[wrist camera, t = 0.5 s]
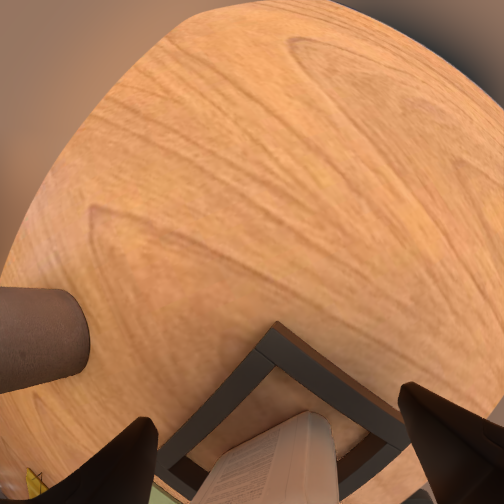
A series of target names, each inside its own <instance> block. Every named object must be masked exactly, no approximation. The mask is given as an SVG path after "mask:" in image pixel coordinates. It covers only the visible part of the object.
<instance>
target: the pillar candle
mask: <svg viewBox="0 0 504 504" xmlns="http://www.w3.org/2000/svg"><path fill="white" fill-rule="evenodd" d="M89 346H90V344H89V333H88V328H87V324H86V320H85V318H84V315H83V313H82V310H81V308H80V307H79V305H78V303H77V302H76V300H75V299H74V298H73V297H72V296H71V295H70V294H69V293H68V292H66V291H63V290H59V289H37V288H17V287H0V394H2V393H6V392H11V391H15V390H19V389H24V388H28V387H31V386H34V385H39V384H42V383H47V382H50V381H54V380H58V379H61V378H66V377H68V376H73V375H75V374H77V373H80V372H81V371H82V370H83V368H84V367H85V365H86V363H87V359H88V355H89Z"/></svg>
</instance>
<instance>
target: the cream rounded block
mask: <svg viewBox="0 0 504 504" xmlns="http://www.w3.org/2000/svg"><path fill="white" fill-rule="evenodd" d="M190 504H339V491H338V476H337V464H336V453H335V444H334V439H333V437H332V433H331V427H330V424H329V422H328V421H327V420H326V419H325V418H324V417H323V416H321V415H319V414H317V413H310V411H305V412H303V413H300V414H298V415H296V416H294V417H292V418H290V419H288V420H286V421H284V422H282V423H281V424H279V425H277V426H275V427H273V428H271V429H269V430H268V431H266V432H264V433H262V434H260V435H258V436H256V437H254V438H252V439H250V440H248V441H246V442H244V443H242V444H240V445H238V446H237V447H235V448H233V449H231V450H229V451H227V452H226V453H225V454H223V455H222V456H221V457H220V458H219V459H218V460H217V462H216V463H215V465H214V467H213V468H212V470H211V472H210V473H209V475H208V476H207V478H206V480H205V481H204V483H203V484H202V486H201V487H200V489H199V490H198V492H197V493H196V495H195V496H194V498H193V499H192V501H191V502H190Z"/></svg>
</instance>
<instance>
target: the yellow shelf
mask: <svg viewBox="0 0 504 504" xmlns="http://www.w3.org/2000/svg"><path fill="white" fill-rule="evenodd" d="M40 474H41V480H40V479H39V478H38V476H39V475H40ZM40 474H39V475H38V476H36V475H35V474H34V473H33V472H32V470H31V469H29V468H27V476H26V482H27V487H28V492H29V497H30V499H31V498H34V497H36V496H38V495H40V494H41V493H43V492H45V491H46V490H48V487H47V486H46V485H45V484H44V483H43V482H42V472H41V473H40Z"/></svg>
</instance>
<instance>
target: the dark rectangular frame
mask: <svg viewBox="0 0 504 504" xmlns="http://www.w3.org/2000/svg"><path fill="white" fill-rule="evenodd" d="M275 365H277V366H278V367H279V368H281V369H282V370H283V371H285V372H286V373H287V374H288V375H290V376H291V377H292V378H294V379H295V380H296V381H298V382H299V383H300V384H302V385H303V386H304V387H306V388H307V389H309V390H310V391H311V392H313V393H314V394H315V395H317V396H318V397H320V398H321V399H322V400H324V401H325V402H327V403H328V404H330V405H331V406H332V407H334V408H335V409H337V410H338V411H340V412H341V413H343V414H344V415H345V416H347V417H348V418H350V419H351V420H353V421H354V422H356V423H357V424H359V425H361V426H362V427H364V428H365V429H367V430H368V431H370V432H371V433H370V434H369V435H368V436H367V437H366V438H365V439H364V440H362V441H361V442H360V443H359V444H358V445H357V446H356V447H355V448H354V449H353V450H351V451H350V452H349V453H348V454H347V455H346V456H344V457H343V458H342V459H341V460H340V461H338V462H337V463H336V464H337V476H338V491H339V502H340V501H342V500H343V499H345V498H346V497H347V496H349V495H350V494H352V493H353V492H354V491H356V490H357V489H358V488H360V487H361V486H362V485H364V484H365V483H366V482H368V481H369V480H370V479H371V478H373V477H374V476H375V475H376V474H377V473H379V472H380V471H381V470H382V469H383V468H385V467H386V466H387V465H388V464H389V463H390V462H391V461H393V460H394V459H395V458H396V457H397V456H398V455H399V454H400V453H401V452H402V451H403V450H404V449H405V448H406V447H407V446H408V445H409V444H410V443H411V441H410V439H409V436H408V433H407V430H406V427H405V424H404V421H403V418H402V415H401V413H400V412H399V411H397V410H396V409H395V408H393V407H392V406H390V405H389V404H387V403H386V402H385V401H383V400H382V399H380V398H379V397H378V396H376V395H375V394H373V393H372V392H371V391H369V390H368V389H367V388H365V387H364V386H362V385H361V384H360V383H358V382H357V381H356V380H354V379H353V378H352V377H350V376H349V375H347V374H346V373H345V372H343V371H342V370H341V369H339V368H338V367H337V366H335V365H334V364H333V363H331V362H330V361H329V360H327V359H326V358H325V357H324V356H322V355H321V354H320V353H318V352H317V351H316V350H314V349H313V348H312V347H310V346H309V345H308V344H307V343H305V342H304V341H303V340H301V339H300V338H299V337H298V336H296V335H295V334H294V333H292V332H291V331H290V330H289V329H287V328H286V327H285V326H284V325H282V324H281V323H280V322H279V321H277V322H276V323H275V324H274V325H273V326H272V327H271V328H270V330H269V331H268V332H267V333H266V334H265V336H264V337H263V338H262V339H261V340H260V341H259V343H258V344H257V345H256V346H255V347H254V349H253V350H252V351H251V352H250V353H249V354H248V355H247V357H246V358H245V359H244V360H243V361H242V362H241V364H240V365H239V366H238V367H237V368H236V369H235V370H234V371H233V373H232V374H231V375H230V376H229V377H228V378H227V379H226V380H225V381H224V383H223V384H222V385H221V386H220V387H219V388H218V389H217V390H216V391H215V392H214V394H213V395H212V396H211V397H210V398H209V399H208V400H207V401H206V402H205V403H204V404H203V405H202V406H201V407H200V408H199V410H198V411H197V412H196V413H195V414H194V415H193V416H192V417H191V418H190V419H189V420H188V421H187V422H186V423H185V424H184V425H183V426H182V427H181V428H180V429H179V430H178V431H177V432H176V433H175V434H174V435H173V436H172V437H171V438H170V439H169V440H168V441H167V442H166V443H165V444H164V445H163V446H162V447H161V448H160V449H159V450H158V451H157V458H156V469H155V475H156V476H158V477H159V478H160V479H161V480H163V481H164V482H165V483H166V484H168V485H169V486H170V487H172V488H173V489H174V490H176V491H177V492H178V493H180V494H181V495H182V496H184V497H185V498H187V499H188V500H190V501H192V499H193V498H194V496H195V495H196V493H197V492H198V490H199V489H200V487H201V486H202V484H203V483H204V481H205V480H206V478H207V476H208V475H209V473H207V472H206V471H205V470H203V469H202V468H201V467H199V466H198V465H196V464H195V463H194V462H193V461H191V460H190V459H189V458H187V457H186V456H185V455H186V454H187V453H188V452H189V451H190V450H192V449H193V448H194V447H195V446H196V445H197V444H198V443H199V442H201V441H202V440H203V439H204V438H205V437H206V436H207V435H208V434H209V433H210V432H211V431H212V430H213V429H215V428H216V427H217V426H218V425H219V424H220V423H221V422H222V421H223V420H224V419H225V418H226V417H227V416H228V415H229V414H230V413H231V412H232V411H233V410H234V409H235V408H236V407H237V406H238V405H239V404H240V403H241V402H242V401H243V400H244V399H245V398H246V397H247V396H248V395H249V394H250V393H251V392H252V391H253V390H254V388H255V387H256V386H257V385H258V384H259V383H260V382H261V381H262V380H263V379H264V378H265V377H266V376H267V375H268V373H269V372H270V371H271V370H272V369H273V368H274V367H275Z"/></svg>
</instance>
